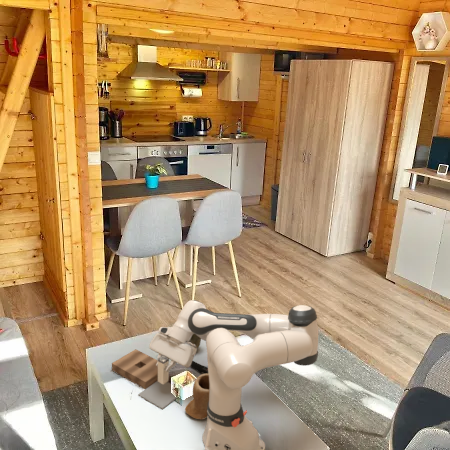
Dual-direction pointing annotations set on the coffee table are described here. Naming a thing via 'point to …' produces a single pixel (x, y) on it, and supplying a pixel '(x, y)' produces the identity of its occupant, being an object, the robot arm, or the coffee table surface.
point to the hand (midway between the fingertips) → (161, 368)
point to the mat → (158, 394)
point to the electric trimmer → (199, 367)
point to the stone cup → (199, 398)
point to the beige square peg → (162, 373)
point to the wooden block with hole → (137, 368)
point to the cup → (195, 340)
